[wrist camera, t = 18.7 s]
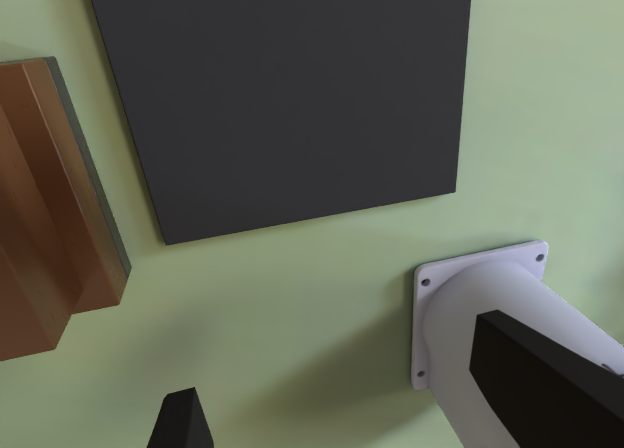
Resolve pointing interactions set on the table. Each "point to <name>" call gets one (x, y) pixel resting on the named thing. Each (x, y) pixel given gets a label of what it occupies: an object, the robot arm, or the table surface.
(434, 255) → the table surface
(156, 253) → the table surface
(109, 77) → the table surface
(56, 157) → the brown stepped block
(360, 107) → the mat
